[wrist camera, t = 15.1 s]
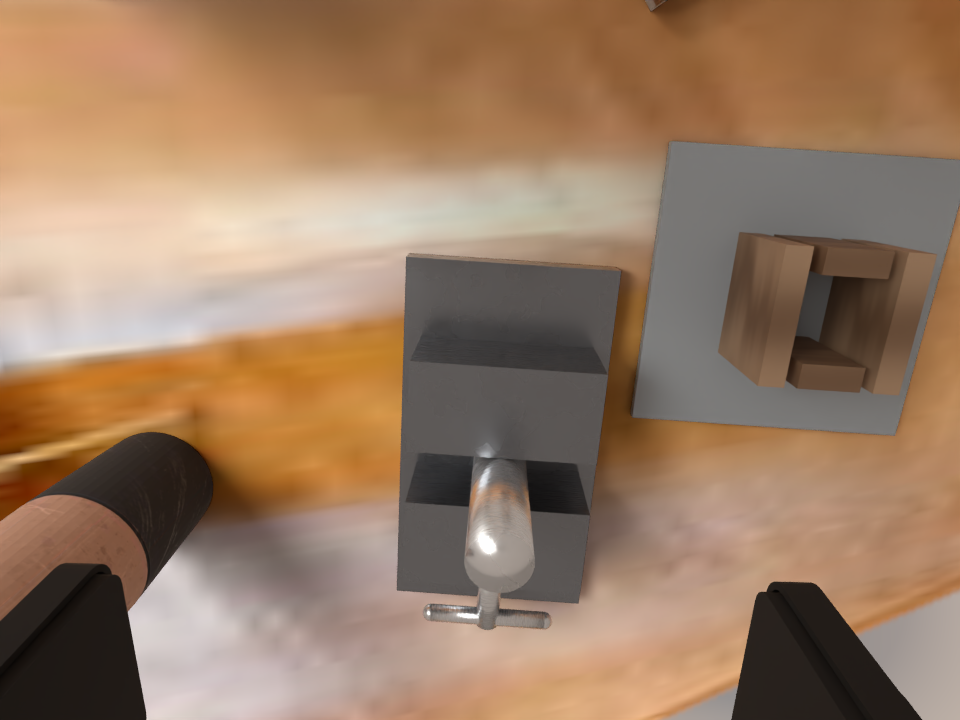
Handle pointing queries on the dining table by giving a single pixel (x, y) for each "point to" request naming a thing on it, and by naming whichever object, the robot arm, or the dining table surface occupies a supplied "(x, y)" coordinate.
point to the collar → (848, 317)
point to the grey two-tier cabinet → (654, 3)
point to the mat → (814, 213)
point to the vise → (500, 430)
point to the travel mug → (108, 517)
